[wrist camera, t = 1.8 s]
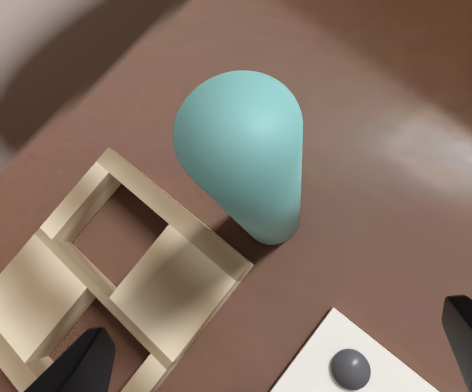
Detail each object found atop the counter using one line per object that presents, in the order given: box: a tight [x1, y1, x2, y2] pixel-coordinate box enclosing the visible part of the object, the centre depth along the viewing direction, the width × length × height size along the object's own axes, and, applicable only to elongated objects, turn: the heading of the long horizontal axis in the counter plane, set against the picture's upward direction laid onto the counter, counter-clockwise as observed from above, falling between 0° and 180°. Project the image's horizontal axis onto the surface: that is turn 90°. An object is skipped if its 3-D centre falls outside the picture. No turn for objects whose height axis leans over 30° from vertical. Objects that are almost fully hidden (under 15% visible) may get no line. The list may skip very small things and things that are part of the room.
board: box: [0, 147, 254, 392], centre depth 21 cm, size 14×12×2 cm
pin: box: [173, 70, 303, 245], centre depth 15 cm, size 4×4×13 cm
